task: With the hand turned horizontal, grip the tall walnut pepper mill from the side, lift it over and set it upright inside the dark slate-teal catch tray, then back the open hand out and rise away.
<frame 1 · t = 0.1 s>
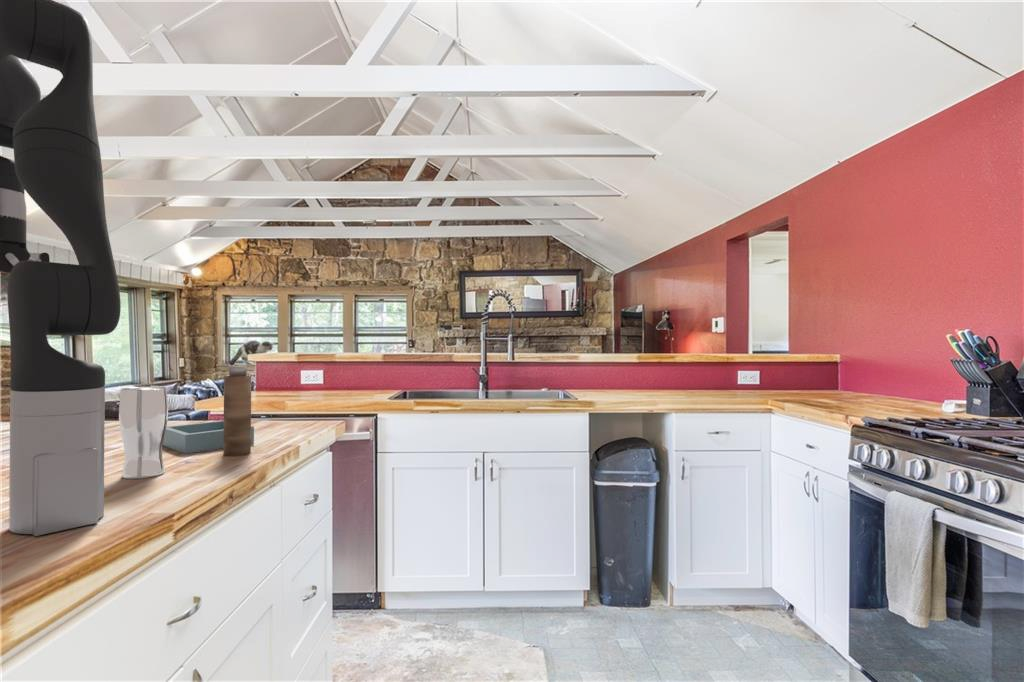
beer glass: (143, 475, 91), on the worktop
pepper mill: (237, 453, 108), on the worktop
catch tray: (207, 443, 117), on the worktop
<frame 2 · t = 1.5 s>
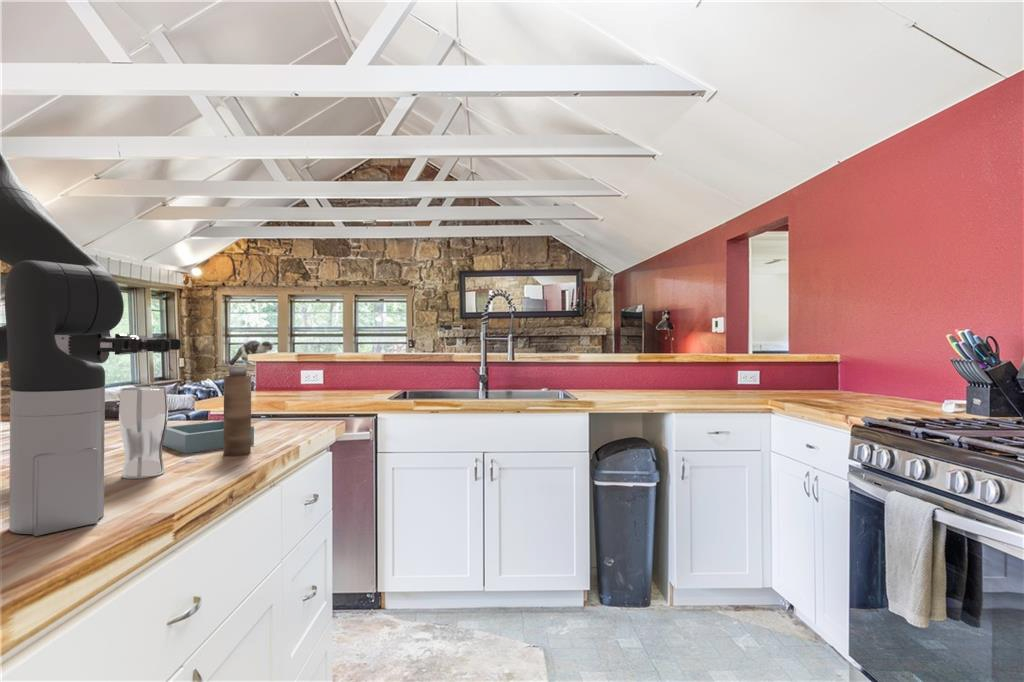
hand: (175, 345, 104), 22 cm above the worktop, tool horizontal, fingers open, 8 cm apart
nothing on the worktop moved.
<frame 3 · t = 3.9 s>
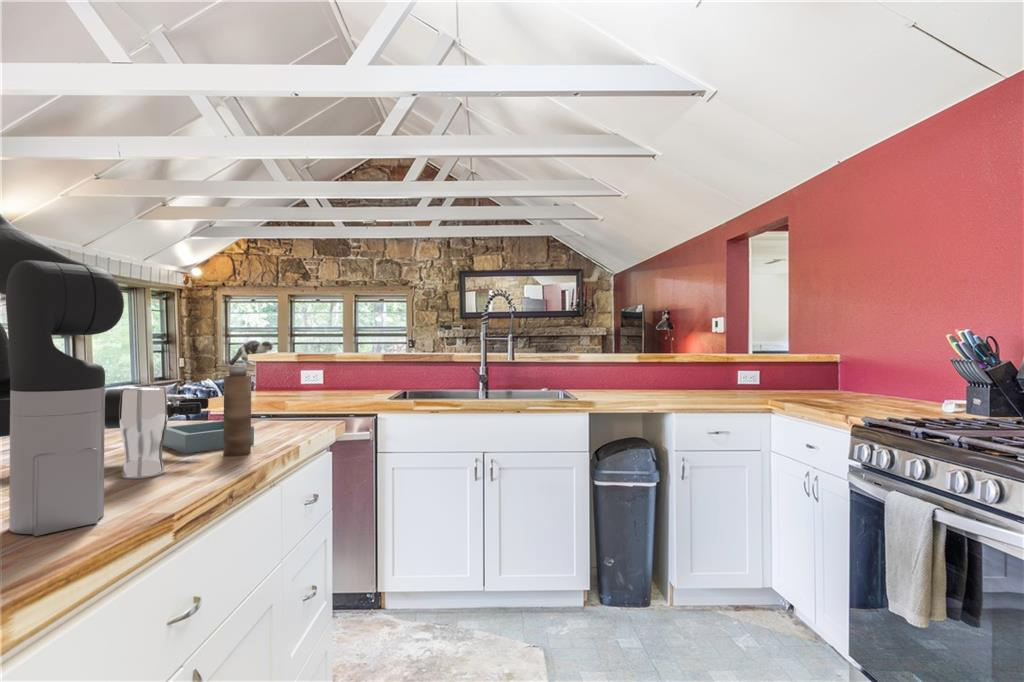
hand: (204, 405, 106), 10 cm above the worktop, tool horizontal, fingers open, 8 cm apart
nothing on the worktop moved.
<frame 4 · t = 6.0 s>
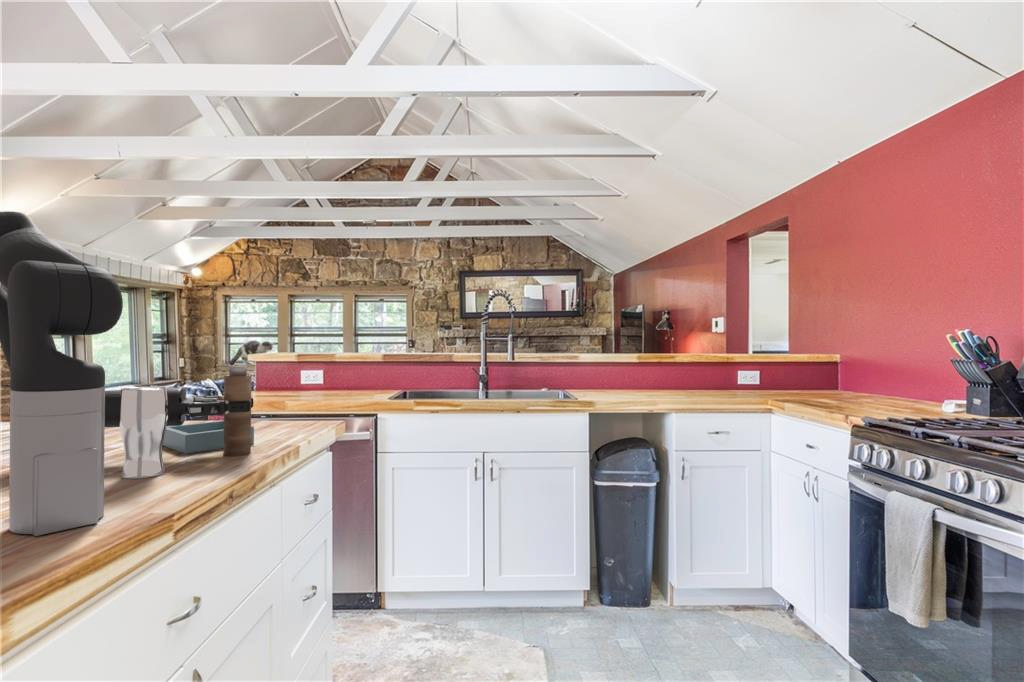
hand: (251, 404, 109), 10 cm above the worktop, tool horizontal, fingers closed on pepper mill, 5 cm apart
pepper mill: (237, 453, 108), on the worktop, touching gripper
everything else where it was.
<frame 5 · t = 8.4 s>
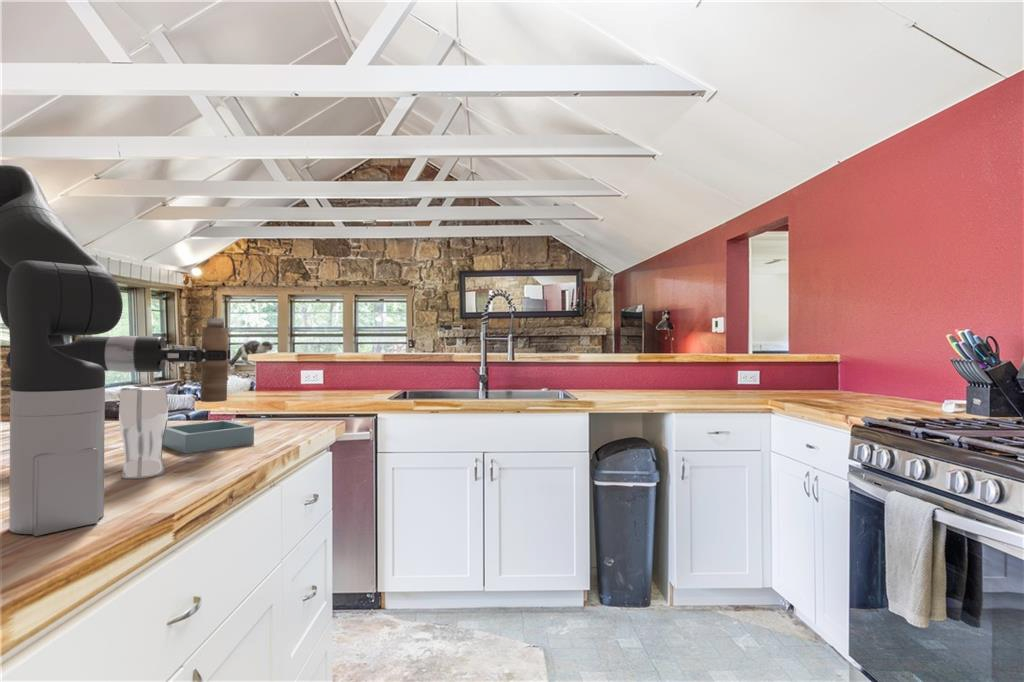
hand: (228, 354, 116), 20 cm above the worktop, tool horizontal, fingers closed on pepper mill, 5 cm apart
pepper mill: (213, 400, 115), point 10 cm above the worktop, touching gripper
everything else where it was.
when the fingers open (12 cm above the worktop, at t = 10.7 s): pepper mill stays where it is, resting on catch tray.
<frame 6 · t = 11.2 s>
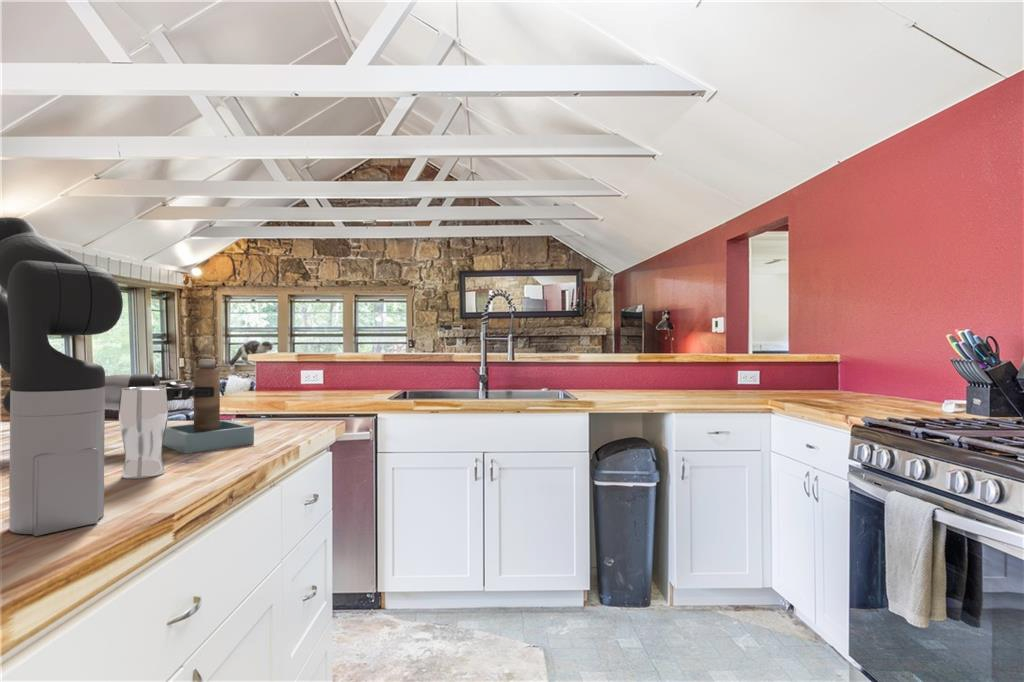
hand: (217, 389, 118), 12 cm above the worktop, tool horizontal, fingers open, 8 cm apart
pepper mill: (206, 440, 117), point 1 cm above the worktop, touching catch tray
everything else where it was.
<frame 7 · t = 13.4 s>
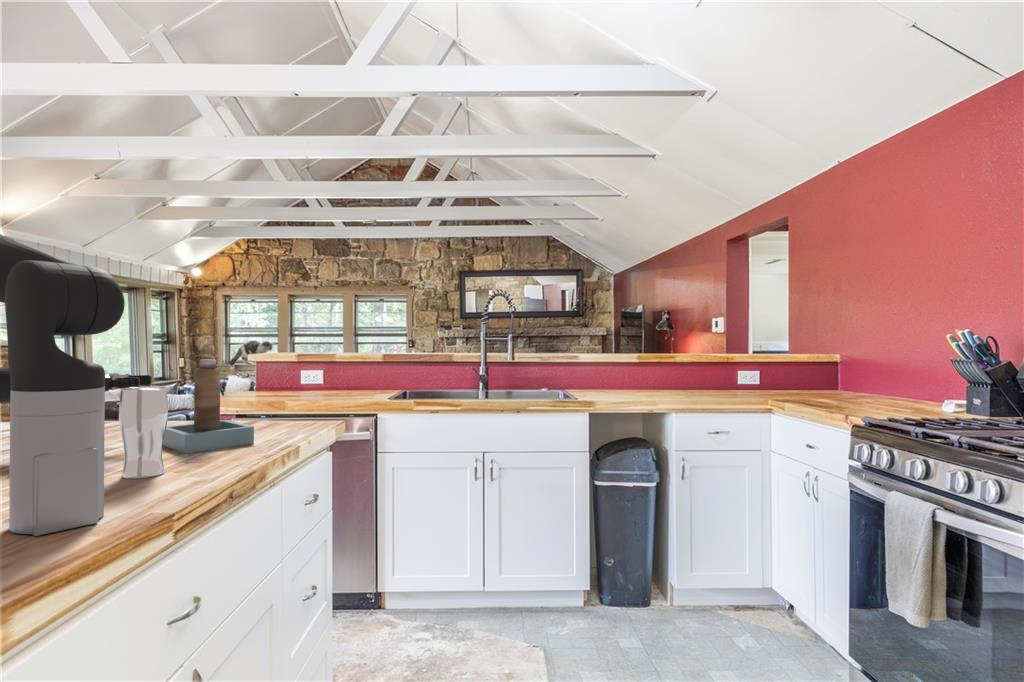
hand: (145, 381, 112), 14 cm above the worktop, tool horizontal, fingers open, 8 cm apart
nothing on the worktop moved.
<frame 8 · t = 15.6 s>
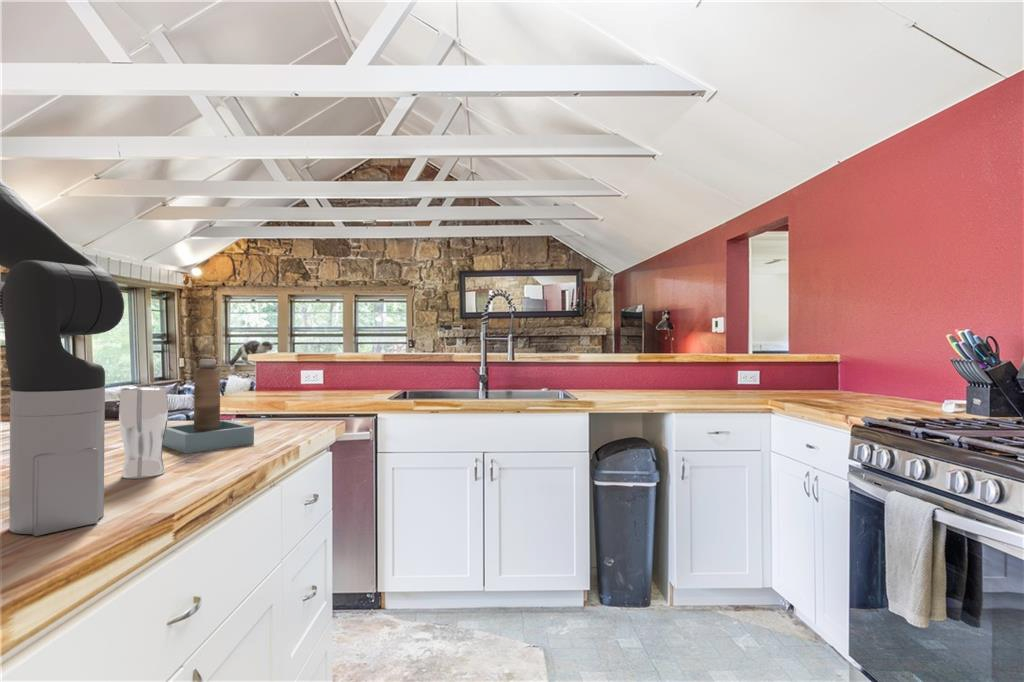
hand: (113, 305, 104), 30 cm above the worktop, tool horizontal, fingers open, 8 cm apart
nothing on the worktop moved.
at the end: pepper mill inside the target area on the catch tray (0.1 cm from its centre), point 0.8 cm above the catch tray's base; pepper mill tilted 0°; the gripper is holding nothing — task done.
